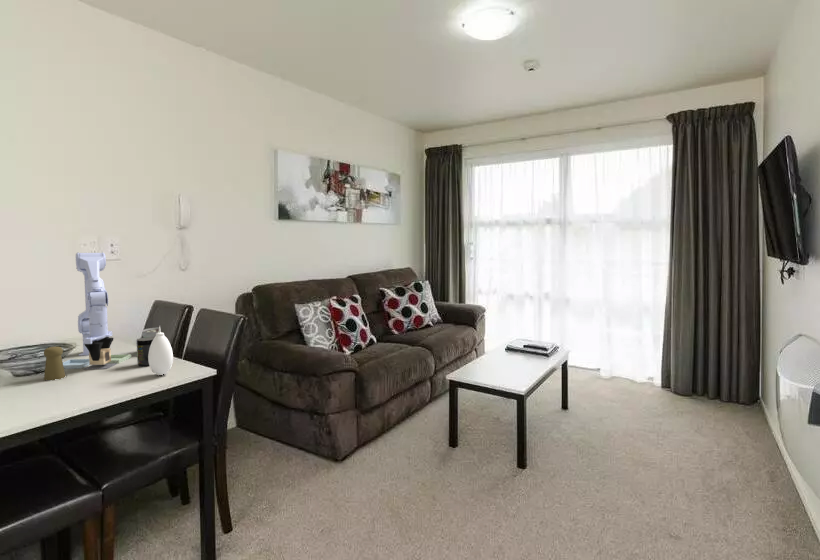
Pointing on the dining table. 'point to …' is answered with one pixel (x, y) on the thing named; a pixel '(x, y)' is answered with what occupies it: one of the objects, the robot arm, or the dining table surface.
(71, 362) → the blue-grey tray
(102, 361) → the letter block
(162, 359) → the white air blower bulb
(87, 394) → the dining table surface
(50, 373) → the cork
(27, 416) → the dining table surface
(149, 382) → the dining table surface
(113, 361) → the sage tray
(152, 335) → the food container
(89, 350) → the robot arm
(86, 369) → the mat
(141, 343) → the supplement container
